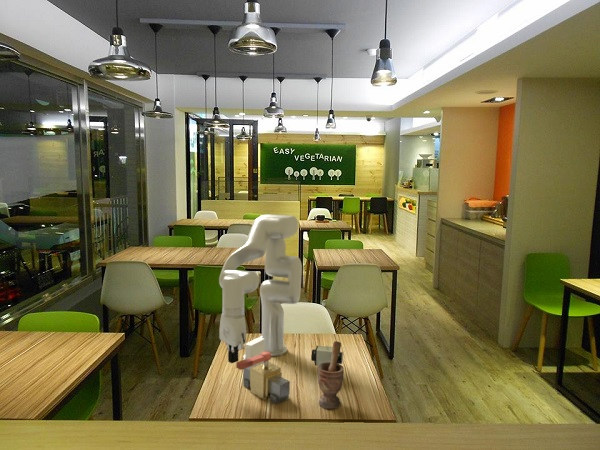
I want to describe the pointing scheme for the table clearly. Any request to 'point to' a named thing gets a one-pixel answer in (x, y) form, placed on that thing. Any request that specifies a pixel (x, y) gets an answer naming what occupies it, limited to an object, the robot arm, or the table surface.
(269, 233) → the robot arm
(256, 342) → the cylinder with rectangular tab
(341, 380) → the mortar and pestle
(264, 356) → the lever
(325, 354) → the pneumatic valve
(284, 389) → the valve pipe
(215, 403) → the table surface
